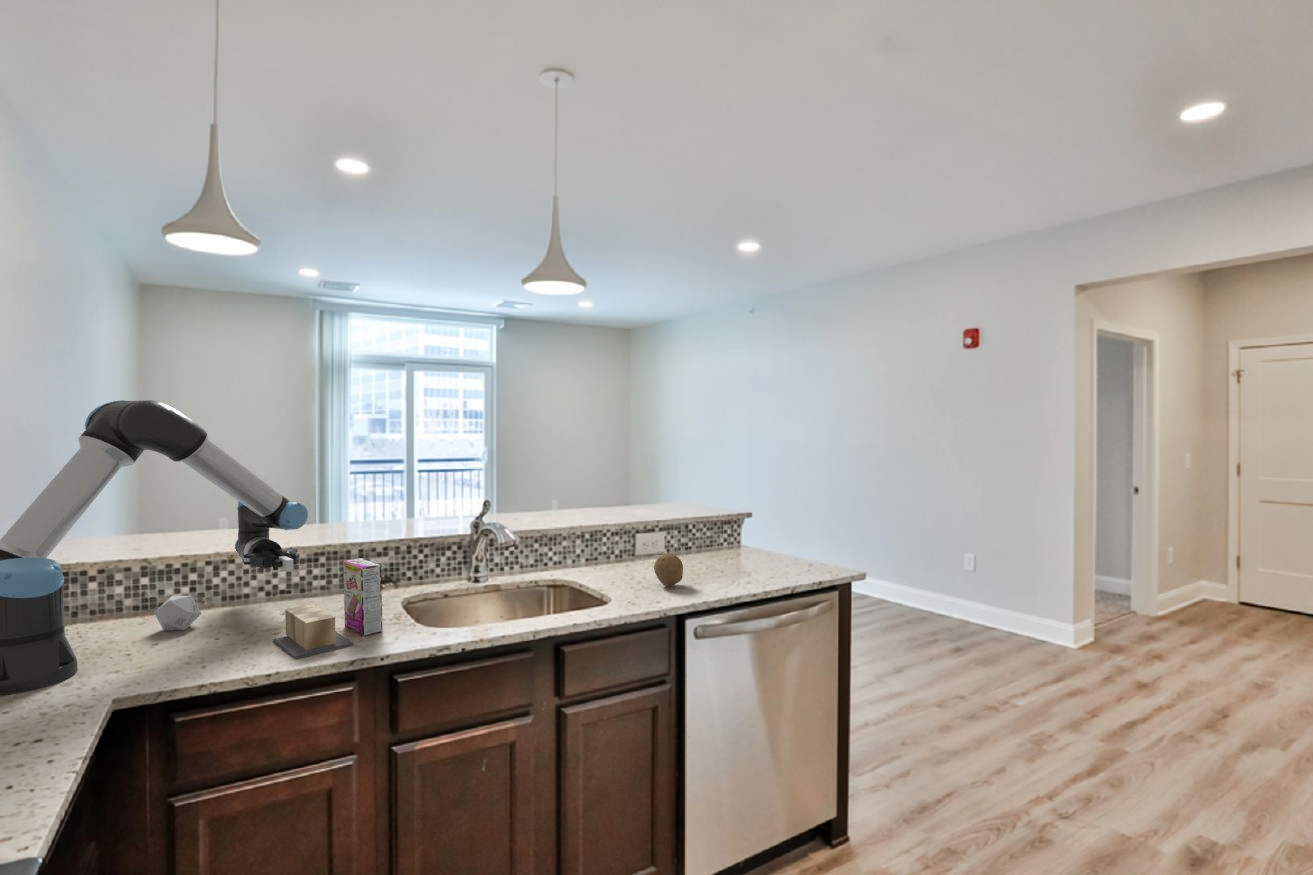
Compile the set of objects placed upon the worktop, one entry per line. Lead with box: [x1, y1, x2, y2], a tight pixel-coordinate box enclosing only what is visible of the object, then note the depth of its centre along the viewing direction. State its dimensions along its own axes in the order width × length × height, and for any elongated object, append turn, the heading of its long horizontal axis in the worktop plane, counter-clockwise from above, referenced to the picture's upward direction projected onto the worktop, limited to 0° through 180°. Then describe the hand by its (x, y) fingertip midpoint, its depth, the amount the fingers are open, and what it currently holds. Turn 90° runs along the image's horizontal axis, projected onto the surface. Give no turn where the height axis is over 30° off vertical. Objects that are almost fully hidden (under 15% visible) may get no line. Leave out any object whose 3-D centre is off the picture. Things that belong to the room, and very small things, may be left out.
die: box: [153, 595, 202, 632], centre depth 161 cm, size 8×9×10 cm
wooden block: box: [284, 603, 336, 650], centre depth 151 cm, size 6×6×15 cm
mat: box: [272, 630, 355, 660], centre depth 149 cm, size 12×16×1 cm
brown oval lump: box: [653, 552, 684, 588], centre depth 198 cm, size 9×9×10 cm
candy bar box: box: [342, 557, 384, 637], centre depth 159 cm, size 11×5×16 cm, turn 47°
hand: (289, 565), depth 162 cm, fingers closed
